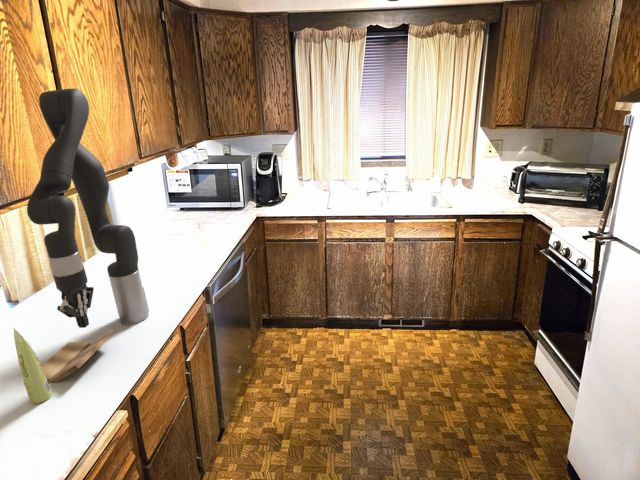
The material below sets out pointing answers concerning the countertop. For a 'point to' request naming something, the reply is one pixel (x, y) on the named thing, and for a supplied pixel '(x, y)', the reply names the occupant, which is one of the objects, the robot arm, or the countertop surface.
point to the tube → (31, 371)
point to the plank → (83, 356)
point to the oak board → (62, 359)
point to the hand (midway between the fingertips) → (84, 326)
